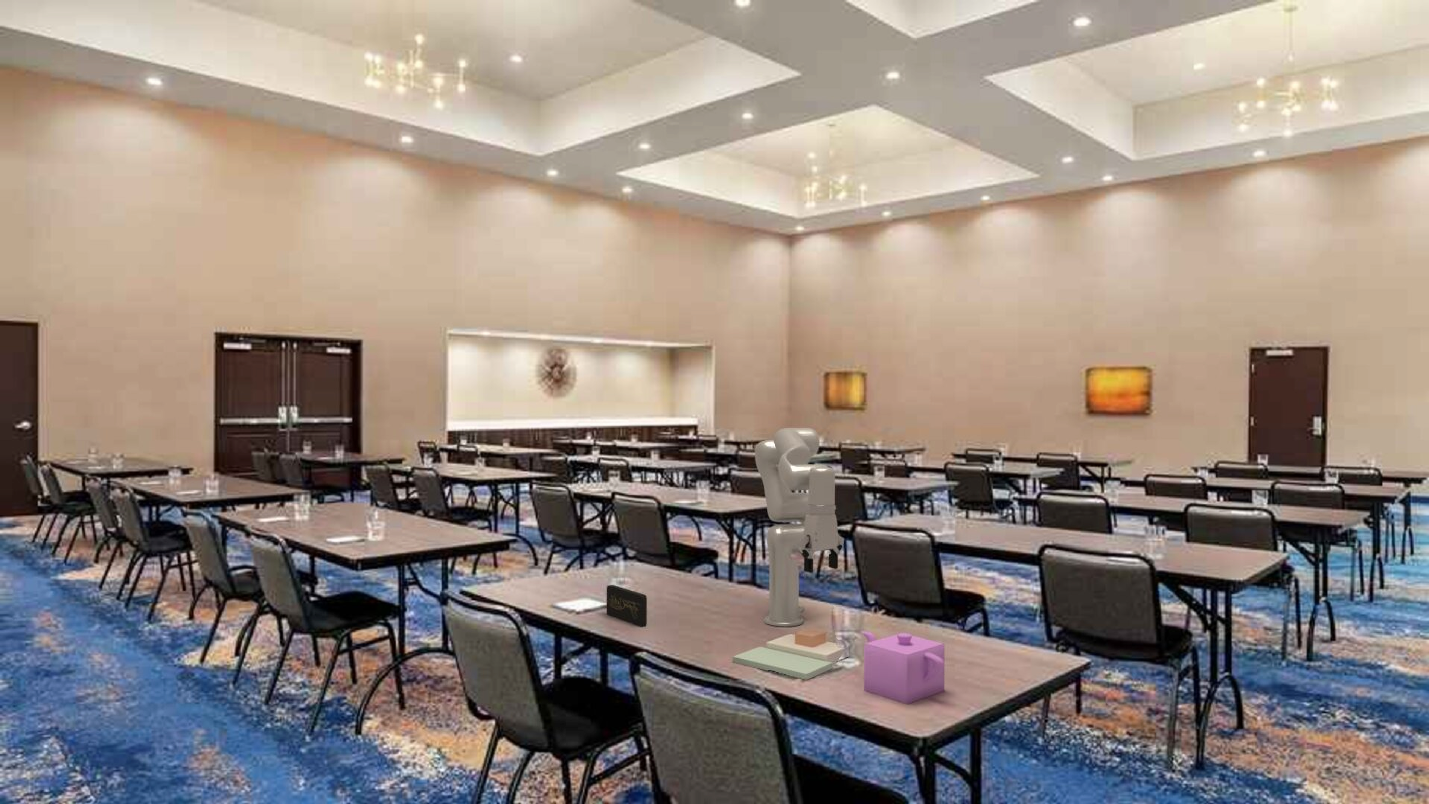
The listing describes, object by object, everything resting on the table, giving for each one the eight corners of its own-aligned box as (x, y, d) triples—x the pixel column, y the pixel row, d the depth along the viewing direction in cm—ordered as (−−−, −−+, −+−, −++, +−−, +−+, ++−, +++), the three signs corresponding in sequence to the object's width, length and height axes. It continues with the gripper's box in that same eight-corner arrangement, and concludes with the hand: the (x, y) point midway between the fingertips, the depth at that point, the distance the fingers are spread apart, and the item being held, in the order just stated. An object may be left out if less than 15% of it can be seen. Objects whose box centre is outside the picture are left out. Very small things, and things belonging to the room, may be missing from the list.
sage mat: (760, 651, 249) (760, 646, 249) (832, 668, 233) (832, 662, 233) (732, 662, 239) (732, 656, 239) (806, 679, 224) (806, 674, 224)
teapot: (879, 671, 231) (880, 618, 231) (961, 696, 212) (961, 638, 212) (841, 683, 221) (842, 628, 221) (924, 710, 202) (924, 649, 202)
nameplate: (646, 626, 277) (646, 595, 277) (641, 627, 276) (641, 596, 276) (611, 614, 293) (611, 584, 293) (606, 614, 292) (606, 585, 292)
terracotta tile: (808, 638, 252) (808, 628, 252) (826, 642, 248) (826, 631, 248) (794, 643, 246) (794, 633, 246) (812, 647, 242) (812, 636, 242)
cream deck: (790, 644, 257) (790, 633, 257) (849, 656, 244) (849, 646, 244) (766, 652, 248) (766, 642, 248) (826, 666, 235) (826, 655, 235)
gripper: (833, 506, 257) (833, 564, 258) (790, 511, 247) (789, 571, 247) (852, 509, 251) (851, 568, 252) (808, 514, 241) (807, 575, 241)
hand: (821, 570), depth 249 cm, fingers open, 9 cm apart
